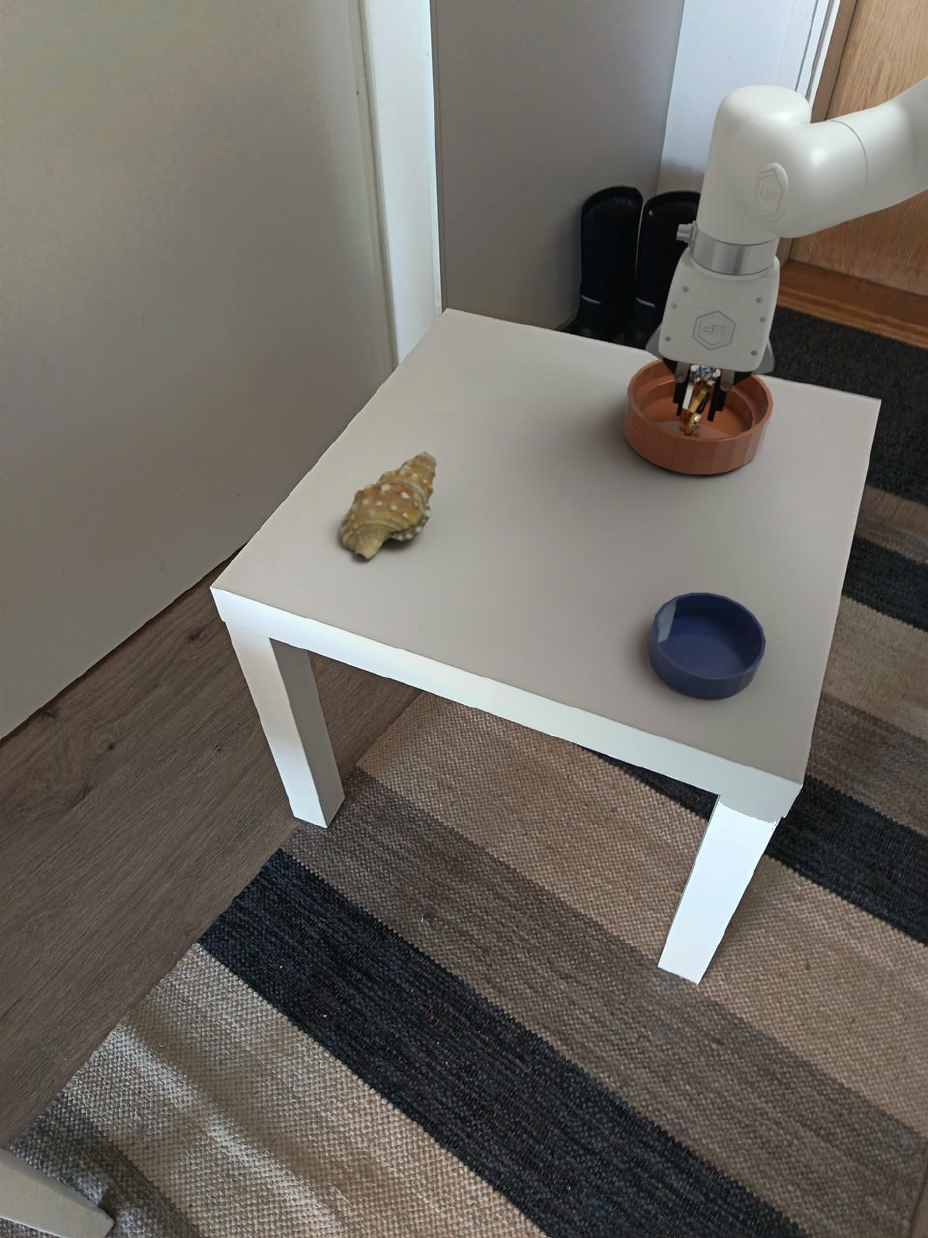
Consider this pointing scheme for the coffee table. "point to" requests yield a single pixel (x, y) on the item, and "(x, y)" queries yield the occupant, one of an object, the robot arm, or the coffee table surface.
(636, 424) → the bowl
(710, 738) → the coffee table surface
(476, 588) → the coffee table surface
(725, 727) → the coffee table surface
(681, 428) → the ring
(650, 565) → the coffee table surface
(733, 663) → the blue round dish
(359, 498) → the seashell
